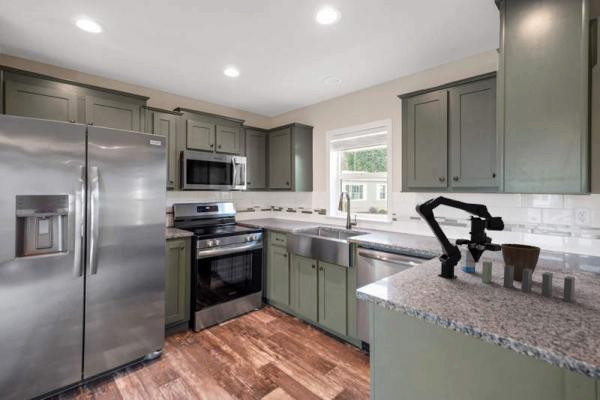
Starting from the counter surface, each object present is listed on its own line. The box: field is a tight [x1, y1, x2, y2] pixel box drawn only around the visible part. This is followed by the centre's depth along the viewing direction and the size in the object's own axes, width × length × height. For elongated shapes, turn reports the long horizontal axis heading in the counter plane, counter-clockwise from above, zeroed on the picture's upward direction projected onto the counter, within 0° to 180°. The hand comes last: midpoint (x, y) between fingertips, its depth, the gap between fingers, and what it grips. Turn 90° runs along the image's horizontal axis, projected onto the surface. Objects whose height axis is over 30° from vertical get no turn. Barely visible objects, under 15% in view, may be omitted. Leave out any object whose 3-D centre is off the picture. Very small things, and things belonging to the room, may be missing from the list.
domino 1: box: [503, 265, 514, 289], centre depth 124 cm, size 5×2×9 cm, turn 126°
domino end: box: [563, 275, 576, 304], centre depth 108 cm, size 5×2×9 cm, turn 126°
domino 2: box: [521, 268, 533, 294], centre depth 118 cm, size 5×2×9 cm, turn 126°
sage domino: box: [481, 260, 493, 284], centre depth 131 cm, size 2×5×9 cm, turn 125°
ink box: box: [459, 246, 477, 274], centre depth 149 cm, size 9×5×12 cm, turn 168°
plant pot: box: [500, 243, 542, 282], centre depth 135 cm, size 15×15×16 cm
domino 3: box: [541, 271, 553, 298], centre depth 113 cm, size 5×2×9 cm, turn 126°
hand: (476, 262), depth 135 cm, fingers closed
